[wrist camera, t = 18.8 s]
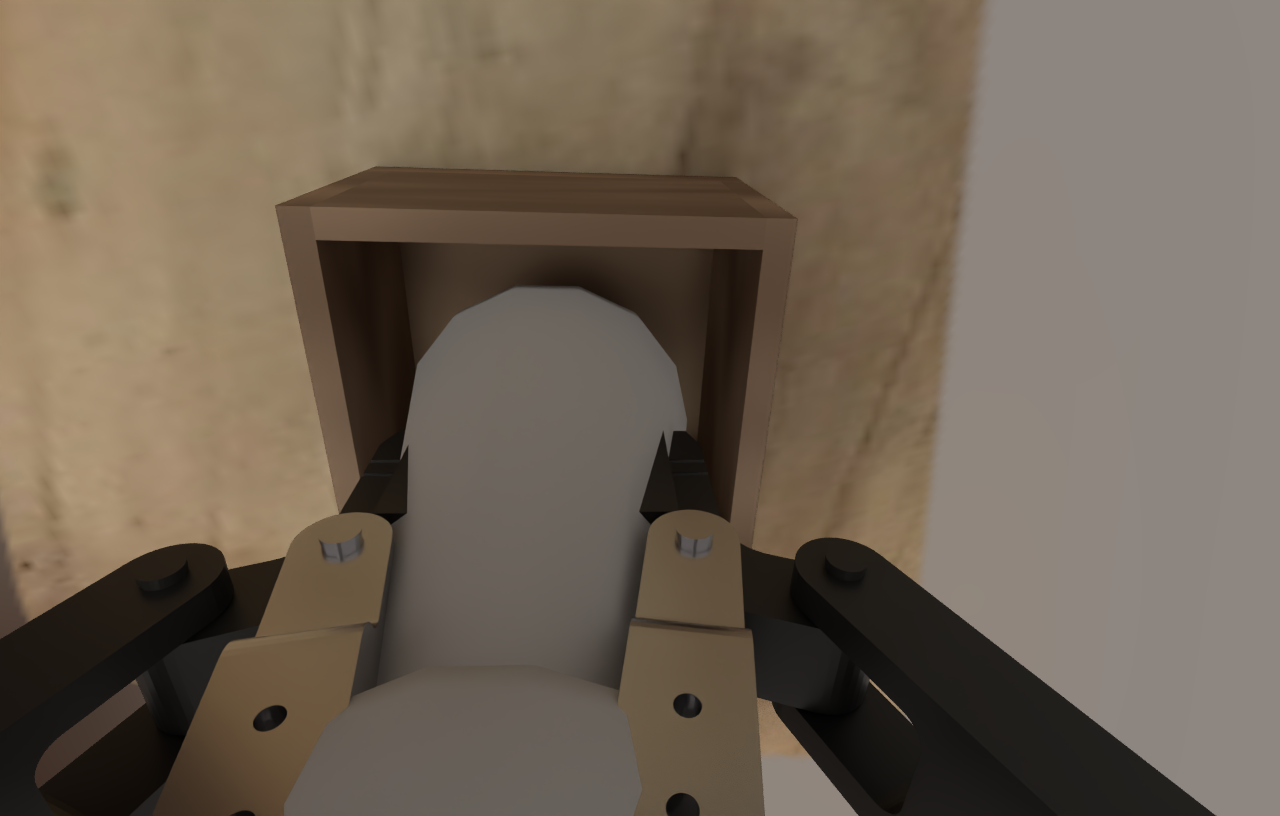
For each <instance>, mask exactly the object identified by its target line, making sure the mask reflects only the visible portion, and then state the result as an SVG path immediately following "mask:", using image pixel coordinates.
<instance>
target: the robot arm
mask: <svg viewBox="0 0 1280 816" xmlns="http://www.w3.org/2000/svg"><path fill="white" fill-rule="evenodd" d="M404 436H405V430H400V431H398V432H397V433H395V434H394V435H392V436H391V437H390V438H388V439H387V440H385V441H384V442H383V443H381V444H380V445H379V447H378V449H377V451H376V452H375V454H374V456H373V457H372V459H371V463H369V464H368V466H367V468H366V469H365V471H364V473H363V476H361V478H360V480H359V481H358V483H357V485H356V486H355V488H354V490H353V491H352V493H351V495H350V497H349V498H348V500H347V502H346V503H345V505H344V507H343V508H342V510H341V512H340V514H339V515H335V516H331V517H328V518H325V519H322V520H320V521H318V522H315V523H314V524H312V525H310V526H308V527H307V528H305V529H304V530H303V531H301V532H300V533H299V534H298V535H297V536H296V537H295V538H294V540H293V541H292V543H291V545H290V547H289V549H288V552H287V555H286V557H283V558H280V559H276V560H272V561H267V562H262V563H258V564H253V565H248V566H243V567H239V568H234V569H229V570H228V568H227V564H226V561H225V558H224V555H223V554H222V552H221V551H220V550H218V549H217V548H215V547H213V546H210V545H206V544H198V543H189V544H179V545H174V546H169V547H165V548H161V549H158V550H155V551H152V552H149V553H147V554H144V555H142V556H140V557H138V558H136V559H134V560H132V561H130V562H128V563H127V564H125V565H123V566H122V567H120V568H118V569H117V570H115V571H113V572H112V573H110V574H108V575H107V576H105V577H103V578H102V579H100V580H98V581H97V582H95V583H93V584H92V585H90V586H88V587H87V588H85V589H83V590H82V591H80V592H78V593H77V594H75V595H73V596H72V597H70V598H68V599H67V600H65V601H63V602H62V603H60V604H58V605H57V606H55V607H53V608H52V609H50V610H48V611H47V612H45V613H43V614H42V615H40V616H38V617H37V618H35V619H33V620H31V621H30V622H28V623H26V624H25V625H23V626H22V627H20V628H18V629H17V630H15V631H13V632H12V633H10V634H8V635H6V636H5V637H3V638H1V639H0V816H284V803H285V802H286V800H287V798H288V796H289V794H290V792H291V790H292V789H293V787H294V785H295V783H296V781H297V779H298V777H299V775H300V774H301V772H302V770H303V768H304V766H305V764H306V762H307V760H308V759H309V757H310V755H311V753H312V751H313V749H314V747H315V745H316V744H317V742H318V740H319V738H320V736H321V734H322V732H323V731H324V729H325V727H326V725H327V724H328V723H329V722H331V721H332V720H333V719H334V718H335V717H337V716H338V715H339V714H340V713H341V712H343V711H344V710H345V709H346V708H347V707H348V706H349V704H350V702H351V699H352V697H353V696H354V695H357V694H359V693H362V692H364V691H367V690H369V689H372V688H375V687H377V679H378V672H379V664H380V657H381V649H382V642H383V634H384V627H385V619H386V612H387V604H388V597H389V589H390V582H391V574H392V567H393V559H394V552H395V542H394V536H393V530H392V527H391V524H393V523H394V522H396V521H397V520H398V519H400V518H401V517H403V516H404V515H405V514H407V493H408V446H407V448H406V450H405V452H404V454H403V456H402V458H401V452H402V447H403V441H404ZM400 458H401V460H400ZM639 512H640V513H641V514H642V516H643V517H644V518H645V519H646V520H647V521H648V522H649V523H650V524H651V526H650V528H649V531H648V536H647V543H646V550H645V556H644V563H643V569H642V576H641V582H640V589H639V596H638V602H637V609H636V615H635V617H632V618H631V622H630V628H629V634H628V640H627V646H626V652H625V659H624V665H623V671H622V677H621V684H620V690H619V696H618V703H617V706H618V707H619V708H620V709H621V710H622V711H623V712H624V713H625V714H626V715H627V718H628V723H629V728H630V733H631V738H632V743H633V747H634V752H635V757H636V762H637V767H638V772H639V777H640V782H641V786H642V791H641V794H640V797H639V800H638V803H637V806H636V809H635V812H634V815H633V816H765V811H764V796H763V782H762V766H761V751H760V736H759V721H758V706H757V698H761V699H765V700H769V701H772V704H773V707H774V709H775V711H776V713H777V715H778V716H779V718H780V719H781V720H782V722H783V723H784V724H785V725H786V727H787V728H788V729H789V730H790V731H791V733H792V734H793V735H794V736H795V738H796V739H797V740H798V741H799V743H800V744H801V745H802V746H803V748H804V749H805V750H806V751H807V752H808V754H809V755H810V756H811V757H812V759H813V760H814V761H815V762H816V764H817V765H818V766H819V767H820V768H821V770H822V771H823V772H824V773H825V775H826V776H827V777H828V778H829V779H830V781H831V782H832V783H833V784H834V786H835V787H836V788H837V790H838V791H839V792H840V793H841V794H842V796H843V797H844V798H845V799H846V800H847V802H848V803H849V804H850V805H851V807H852V808H853V809H854V810H855V812H856V813H857V814H858V815H859V816H1215V815H1214V814H1213V813H1212V812H1210V811H1209V810H1208V809H1207V808H1205V807H1204V806H1203V805H1201V804H1200V803H1199V802H1198V801H1196V800H1195V799H1194V798H1192V797H1191V796H1190V795H1189V794H1187V793H1186V792H1185V791H1183V790H1182V789H1181V788H1179V787H1178V786H1177V785H1176V784H1174V783H1173V782H1172V781H1171V780H1169V779H1168V778H1167V777H1165V776H1164V775H1163V774H1161V773H1160V772H1159V771H1158V770H1156V769H1155V768H1154V767H1152V766H1151V765H1150V764H1149V763H1147V762H1146V761H1145V760H1143V759H1142V758H1141V757H1140V756H1138V755H1137V754H1136V753H1134V752H1133V751H1132V750H1131V749H1129V748H1128V747H1127V746H1125V745H1124V744H1123V743H1122V742H1120V741H1119V740H1118V739H1116V738H1115V737H1114V736H1113V735H1111V734H1110V733H1109V732H1107V731H1106V730H1105V729H1104V728H1102V727H1101V726H1100V725H1098V724H1097V723H1096V722H1095V721H1093V720H1092V719H1091V718H1089V717H1088V716H1087V715H1086V714H1084V713H1083V712H1082V711H1080V710H1079V709H1078V708H1077V707H1075V706H1074V705H1073V704H1071V703H1070V702H1069V701H1068V700H1066V699H1065V698H1064V697H1062V696H1061V695H1060V694H1059V693H1057V692H1056V691H1055V690H1053V689H1052V688H1051V687H1050V686H1048V685H1047V684H1045V683H1044V682H1043V681H1042V680H1041V679H1039V678H1038V677H1037V676H1035V675H1034V674H1033V673H1032V672H1030V671H1029V670H1028V669H1026V668H1025V667H1024V666H1022V665H1021V664H1020V663H1019V662H1017V661H1016V660H1014V658H1012V657H1011V656H1010V655H1008V654H1007V653H1006V652H1004V651H1003V650H1002V649H1001V648H999V647H998V646H997V645H995V644H994V643H993V642H991V641H990V640H989V639H988V638H986V637H985V636H984V635H983V634H981V633H980V632H979V631H977V630H976V629H975V628H974V627H972V626H971V625H970V624H968V623H967V622H966V621H965V620H963V619H962V618H961V617H959V616H958V615H957V614H955V613H954V612H953V611H952V610H950V609H949V608H948V607H946V606H945V605H944V604H943V603H941V602H940V601H939V600H937V599H936V598H935V597H934V596H932V595H931V594H930V593H928V592H927V591H926V590H925V589H923V588H922V587H921V586H920V585H918V584H917V583H916V582H914V581H913V580H912V579H911V578H909V577H908V576H907V575H905V574H904V573H903V572H902V571H900V570H899V569H898V568H896V567H895V566H894V565H893V564H891V563H890V562H889V561H887V560H886V559H885V558H884V557H882V556H881V555H880V554H878V553H877V552H875V551H874V550H872V549H870V548H868V547H867V546H864V545H862V544H860V543H857V542H854V541H851V540H846V539H841V538H819V539H815V540H811V541H809V542H807V543H805V544H804V545H802V546H801V547H800V548H799V550H798V551H797V553H796V557H795V560H793V559H788V558H783V557H779V556H774V555H769V554H765V553H761V552H758V551H756V550H753V549H751V548H749V547H747V546H745V545H743V544H741V543H740V538H739V535H738V533H737V531H736V529H735V528H734V527H733V526H732V525H731V524H730V523H729V522H728V521H726V520H725V519H723V518H721V515H720V512H719V508H718V505H717V502H716V498H715V495H714V491H713V488H712V485H711V481H710V478H709V475H708V471H707V467H706V464H705V463H704V457H703V454H702V450H701V447H700V444H699V443H698V442H697V441H696V440H695V439H694V438H692V437H691V436H690V435H689V434H688V433H687V432H686V431H673V436H672V441H671V447H670V452H669V456H668V451H667V446H666V441H665V436H664V431H663V433H662V436H661V439H660V443H659V446H658V449H657V453H656V456H655V460H654V463H653V466H652V470H651V473H650V477H649V480H648V483H647V487H646V490H645V493H644V497H643V500H642V504H641V507H640V510H639ZM135 679H136V681H137V684H138V686H139V688H140V690H141V693H142V695H143V697H144V699H145V702H146V703H145V704H144V705H143V706H142V707H140V708H139V709H138V710H136V711H135V712H134V713H133V714H132V715H130V716H129V717H128V718H126V719H125V720H124V721H123V722H121V723H120V724H119V725H118V726H116V727H115V728H114V729H113V730H111V731H110V732H109V733H108V734H106V735H105V736H104V737H103V738H101V739H100V740H99V741H98V742H96V743H95V744H94V745H93V746H91V747H90V748H89V749H88V750H86V751H85V752H84V753H83V754H81V755H80V756H79V757H78V758H76V759H75V760H74V761H73V762H71V763H70V764H69V765H68V766H66V767H65V768H64V769H62V770H61V771H60V772H59V773H57V774H56V775H55V776H54V777H53V778H51V779H50V780H49V781H47V782H46V783H45V784H44V785H43V786H41V787H40V788H39V789H38V788H37V786H36V783H35V778H34V776H35V770H36V767H37V764H38V762H39V760H40V758H41V757H42V755H43V753H44V752H45V751H46V750H47V748H48V747H49V746H50V745H51V744H52V743H53V742H54V741H55V740H56V739H57V738H58V737H60V736H61V735H62V734H63V733H65V732H66V731H67V730H69V729H70V728H71V727H73V726H74V725H75V724H77V723H78V722H79V721H80V720H82V719H83V718H84V717H86V716H87V715H88V714H90V713H91V712H92V711H94V710H95V709H96V708H98V707H99V706H100V705H102V704H103V703H104V702H105V701H107V700H108V699H109V698H111V697H112V696H113V695H115V694H116V693H118V692H119V691H120V690H121V689H123V688H124V687H125V686H127V685H128V684H129V683H131V682H132V681H133V680H135ZM869 679H871V680H872V681H873V682H874V683H875V684H876V685H877V686H878V687H879V688H880V689H881V690H882V691H883V692H884V693H885V694H886V695H887V696H888V697H889V698H890V699H891V700H892V701H893V702H894V703H895V704H896V705H897V706H898V707H899V708H900V709H901V710H902V711H903V712H904V713H905V714H906V715H907V717H908V718H909V719H910V721H911V722H912V724H913V725H914V726H913V725H912V724H911V723H910V722H909V721H908V720H907V719H906V718H905V717H904V716H903V715H902V714H901V713H900V712H899V711H898V710H897V709H896V708H895V707H894V706H893V705H892V704H891V703H890V702H889V701H888V700H887V699H886V698H885V697H884V696H883V695H882V694H881V693H880V692H879V691H878V690H877V689H876V688H875V687H874V686H873V685H872V684H871V683H870V682H869Z"/></svg>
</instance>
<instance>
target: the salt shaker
mask: <svg viewBox="0 0 1280 816" xmlns="http://www.w3.org/2000/svg"><path fill="white" fill-rule="evenodd" d="M686 426H687V417H686V412H685V407H684V402H683V397H682V393H681V388H680V383H679V378H678V373H677V368H676V365H675V364H674V363H673V361H672V360H671V359H670V357H669V356H668V355H667V353H666V352H665V351H664V349H663V348H662V347H661V345H660V344H659V343H658V341H657V340H656V339H655V338H654V336H653V335H652V334H651V332H650V331H649V330H648V328H647V327H646V326H645V324H644V323H643V322H642V320H641V319H640V318H639V317H638V315H637V314H636V313H635V312H633V311H631V310H628V309H626V308H624V307H622V306H620V305H618V304H616V303H613V302H611V301H609V300H607V299H605V298H603V297H601V296H599V295H596V294H594V293H592V292H590V291H588V290H586V289H584V288H582V287H579V286H543V285H515V286H513V287H511V288H509V289H507V290H505V291H502V292H500V293H498V294H496V295H494V296H492V297H489V298H487V299H485V300H483V301H481V302H479V303H476V304H474V305H472V306H470V307H468V308H466V309H464V310H461V311H460V312H459V313H457V314H456V315H455V316H454V317H453V318H452V319H451V321H450V322H449V323H448V325H447V326H446V327H445V329H444V330H443V331H442V332H441V334H440V335H439V336H438V338H437V339H436V340H435V342H434V343H433V344H432V346H431V347H430V348H429V349H428V351H427V352H426V353H425V355H424V356H423V357H422V359H421V360H420V361H419V362H418V364H417V369H416V374H415V380H414V385H413V391H412V397H411V402H410V408H409V413H408V419H407V425H406V430H405V436H404V441H403V447H402V452H401V458H402V456H403V454H404V452H405V450H406V448H407V446H408V493H407V514H405V515H404V516H403V517H401V518H400V519H398V520H397V521H396V522H394V523H393V524H391V527H392V530H393V536H394V542H395V552H394V559H393V567H392V574H391V582H390V589H389V597H388V604H387V612H386V619H385V627H384V634H383V642H382V649H381V657H380V664H379V672H378V679H377V687H375V688H372V689H369V690H367V691H364V692H362V693H359V694H357V695H354V696H353V697H352V699H351V702H350V704H349V706H348V707H347V708H346V709H345V710H344V711H343V712H341V713H340V714H339V715H338V716H337V717H335V718H334V719H333V720H332V721H331V722H329V723H328V724H327V725H326V727H325V729H324V731H323V732H322V734H321V736H320V738H319V740H318V742H317V744H316V745H315V747H314V749H313V751H312V753H311V755H310V757H309V759H308V760H307V762H306V764H305V766H304V768H303V770H302V772H301V774H300V775H299V777H298V779H297V781H296V783H295V785H294V787H293V789H292V790H291V792H290V794H289V796H288V798H287V800H286V802H285V803H284V816H633V815H634V812H635V809H636V806H637V803H638V800H639V797H640V794H641V791H642V786H641V782H640V777H639V772H638V767H637V762H636V757H635V752H634V747H633V743H632V738H631V733H630V728H629V723H628V718H627V715H626V714H625V713H624V712H623V711H622V710H621V709H620V708H619V707H618V706H617V703H618V696H619V690H620V684H621V677H622V671H623V665H624V659H625V652H626V646H627V640H628V634H629V628H630V622H631V618H632V617H635V615H636V609H637V602H638V596H639V589H640V582H641V576H642V569H643V563H644V556H645V550H646V543H647V536H648V531H649V528H650V526H651V524H650V523H649V522H648V521H647V520H646V519H645V518H644V517H643V516H642V514H641V513H640V512H639V510H640V507H641V504H642V500H643V497H644V493H645V490H646V487H647V483H648V480H649V477H650V473H651V470H652V466H653V463H654V460H655V456H656V453H657V449H658V446H659V443H660V439H661V436H662V433H663V431H664V436H665V441H666V446H667V451H668V456H669V452H670V447H671V441H672V436H673V431H686ZM401 458H400V460H401Z"/></svg>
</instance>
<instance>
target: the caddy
mask: <svg viewBox="0 0 1280 816" xmlns="http://www.w3.org/2000/svg"><path fill="white" fill-rule="evenodd" d="M275 208H276V212H277V217H278V222H279V227H280V232H281V236H282V241H283V246H284V251H285V256H286V261H287V265H288V270H289V275H290V280H291V285H292V289H293V294H294V299H295V304H296V309H297V313H298V318H299V323H300V328H301V333H302V337H303V342H304V347H305V352H306V357H307V361H308V366H309V371H310V376H311V381H312V386H313V390H314V395H315V400H316V405H317V410H318V414H319V419H320V424H321V429H322V434H323V438H324V443H325V448H326V453H327V458H328V462H329V467H330V472H331V477H332V482H333V486H334V491H335V496H336V501H337V506H338V511H339V514H340V512H341V510H342V508H343V507H344V505H345V503H346V502H347V500H348V498H349V497H350V495H351V493H352V491H353V490H354V488H355V486H356V485H357V483H358V481H359V480H360V478H361V476H363V473H364V471H365V469H366V468H367V466H368V464H369V463H371V459H372V457H373V456H374V454H375V452H376V451H377V449H378V447H379V445H380V444H381V443H383V442H384V441H385V440H387V439H388V438H390V437H391V436H392V435H394V434H395V433H397V432H398V431H400V430H406V425H407V419H408V413H409V408H410V402H411V397H412V391H413V385H414V380H415V374H416V369H417V364H418V362H419V361H420V360H421V359H422V357H423V356H424V355H425V353H426V352H427V351H428V349H429V348H430V347H431V346H432V344H433V343H434V342H435V340H436V339H437V338H438V336H439V335H440V334H441V332H442V331H443V330H444V329H445V327H446V326H447V325H448V323H449V322H450V321H451V319H452V318H453V317H454V316H455V315H456V314H457V313H459V312H460V311H461V310H464V309H466V308H468V307H470V306H472V305H474V304H476V303H479V302H481V301H483V300H485V299H487V298H489V297H492V296H494V295H496V294H498V293H500V292H502V291H505V290H507V289H509V288H511V287H513V286H515V285H543V286H579V287H582V288H584V289H586V290H588V291H590V292H592V293H594V294H596V295H599V296H601V297H603V298H605V299H607V300H609V301H611V302H613V303H616V304H618V305H620V306H622V307H624V308H626V309H628V310H631V311H633V312H635V313H636V314H637V315H638V317H639V318H640V319H641V320H642V322H643V323H644V324H645V326H646V327H647V328H648V330H649V331H650V332H651V334H652V335H653V336H654V338H655V339H656V340H657V341H658V343H659V344H660V345H661V347H662V348H663V349H664V351H665V352H666V353H667V355H668V356H669V357H670V359H671V360H672V361H673V363H674V364H675V365H676V368H677V373H678V378H679V383H680V388H681V393H682V397H683V402H684V407H685V412H686V417H687V426H686V432H687V433H688V434H689V435H690V436H691V437H692V438H694V439H695V440H696V441H697V442H698V443H699V444H700V447H701V450H702V454H703V457H704V463H705V464H706V467H707V471H708V475H709V478H710V481H711V485H712V488H713V491H714V495H715V498H716V502H717V505H718V508H719V512H720V515H721V518H723V519H725V520H726V521H728V522H729V523H730V524H731V525H732V526H733V527H734V528H735V529H736V531H737V533H738V535H739V538H740V543H741V544H743V545H745V546H747V547H749V548H751V547H752V540H753V533H754V526H755V519H756V512H757V505H758V498H759V491H760V484H761V476H762V469H763V462H764V455H765V448H766V441H767V434H768V427H769V420H770V413H771V406H772V398H773V391H774V384H775V377H776V370H777V363H778V356H779V349H780V342H781V335H782V328H783V320H784V313H785V306H786V299H787V292H788V285H789V278H790V271H791V264H792V257H793V250H794V242H795V235H796V228H797V221H798V219H797V218H796V217H794V216H793V215H791V214H790V213H788V212H787V211H785V210H784V209H782V208H781V207H779V206H778V205H776V204H775V203H773V202H772V201H770V200H769V199H767V198H766V197H764V196H763V195H761V194H760V193H758V192H757V191H755V190H754V189H753V188H751V187H750V186H748V185H747V184H745V183H744V182H742V181H741V180H739V179H738V178H736V177H702V176H669V175H635V174H602V173H568V172H535V171H502V170H468V169H435V168H401V167H373V168H370V169H368V170H365V171H363V172H360V173H358V174H355V175H353V176H350V177H347V178H345V179H342V180H340V181H337V182H335V183H332V184H329V185H327V186H324V187H322V188H319V189H317V190H314V191H312V192H309V193H306V194H304V195H301V196H299V197H296V198H294V199H291V200H288V201H286V202H283V203H281V204H278V205H276V206H275Z"/></svg>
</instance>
